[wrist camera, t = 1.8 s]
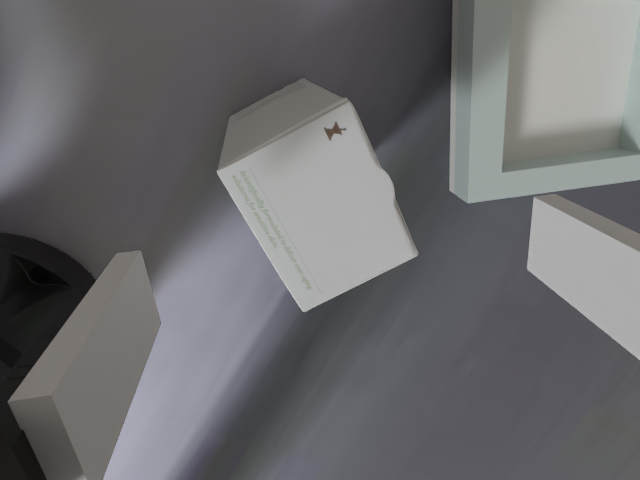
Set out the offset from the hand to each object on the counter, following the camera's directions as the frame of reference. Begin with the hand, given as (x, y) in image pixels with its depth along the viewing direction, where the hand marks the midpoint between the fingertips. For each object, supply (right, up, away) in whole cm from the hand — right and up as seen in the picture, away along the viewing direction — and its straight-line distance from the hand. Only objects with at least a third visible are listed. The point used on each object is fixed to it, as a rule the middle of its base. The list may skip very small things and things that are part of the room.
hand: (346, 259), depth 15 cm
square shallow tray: (+17, +13, +19) cm, 28 cm away
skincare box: (-3, +8, +19) cm, 20 cm away
